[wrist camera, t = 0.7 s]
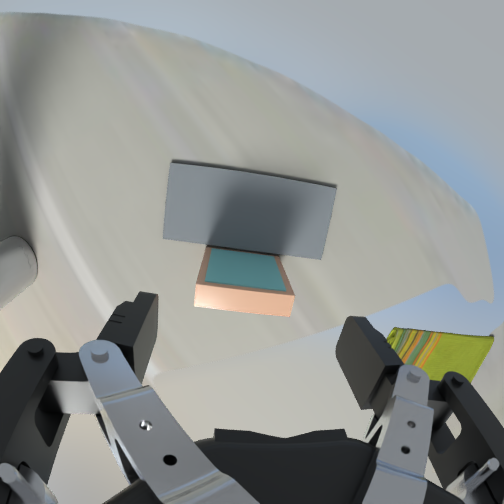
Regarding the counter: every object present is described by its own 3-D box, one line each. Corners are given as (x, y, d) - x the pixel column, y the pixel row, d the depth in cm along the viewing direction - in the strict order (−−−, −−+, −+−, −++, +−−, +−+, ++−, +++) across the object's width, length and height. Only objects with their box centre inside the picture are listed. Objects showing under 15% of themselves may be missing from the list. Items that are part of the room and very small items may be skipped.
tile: (204, 263, 41) (194, 306, 30) (206, 245, 40) (196, 282, 29) (275, 272, 42) (289, 316, 31) (278, 255, 41) (295, 294, 30)
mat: (163, 237, 39) (162, 238, 39) (171, 162, 36) (170, 162, 36) (320, 258, 42) (321, 259, 41) (335, 188, 38) (336, 188, 38)
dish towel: (391, 323, 47) (399, 333, 44) (492, 334, 52) (499, 340, 49) (357, 387, 52) (362, 397, 49) (463, 383, 56) (469, 390, 53)
